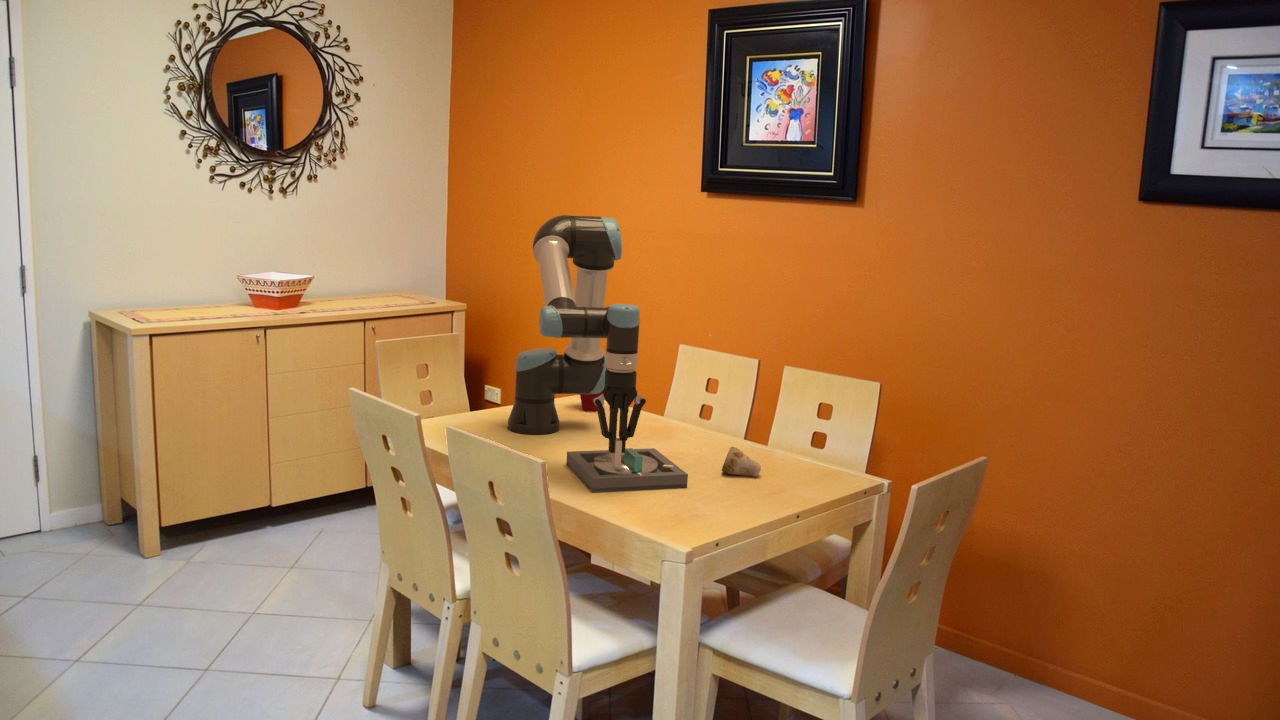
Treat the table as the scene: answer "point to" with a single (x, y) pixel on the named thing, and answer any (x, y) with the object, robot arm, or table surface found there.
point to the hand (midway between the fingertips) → (616, 465)
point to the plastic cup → (589, 401)
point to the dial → (625, 463)
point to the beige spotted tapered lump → (740, 464)
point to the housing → (663, 479)
